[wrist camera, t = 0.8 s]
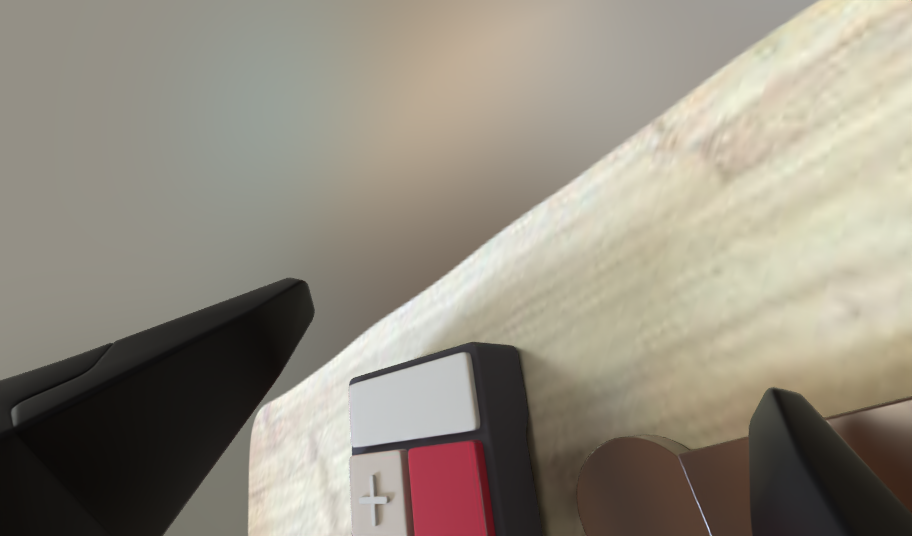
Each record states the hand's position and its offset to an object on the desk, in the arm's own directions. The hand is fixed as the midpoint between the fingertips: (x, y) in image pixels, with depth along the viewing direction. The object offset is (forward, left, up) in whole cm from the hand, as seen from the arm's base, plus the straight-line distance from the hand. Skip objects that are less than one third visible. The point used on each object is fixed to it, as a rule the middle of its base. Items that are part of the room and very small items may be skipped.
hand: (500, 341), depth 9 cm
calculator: (-2, +15, -14) cm, 20 cm away
